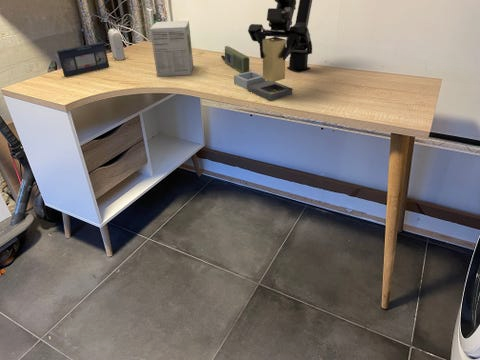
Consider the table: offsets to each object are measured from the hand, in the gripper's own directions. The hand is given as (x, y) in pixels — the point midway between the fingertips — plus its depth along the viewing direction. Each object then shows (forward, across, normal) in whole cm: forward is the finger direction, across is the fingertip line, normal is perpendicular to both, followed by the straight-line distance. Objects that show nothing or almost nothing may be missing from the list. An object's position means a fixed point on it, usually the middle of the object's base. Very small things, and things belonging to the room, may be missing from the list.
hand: (272, 58), depth 116 cm
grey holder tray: (+7, -2, +10) cm, 12 cm away
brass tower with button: (+4, 0, +6) cm, 7 cm away
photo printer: (-10, -82, +27) cm, 87 cm away
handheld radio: (-11, -26, +28) cm, 40 cm away
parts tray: (+2, -11, +15) cm, 19 cm away
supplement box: (-2, -46, +20) cm, 50 cm away
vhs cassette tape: (+6, -81, +12) cm, 82 cm away
